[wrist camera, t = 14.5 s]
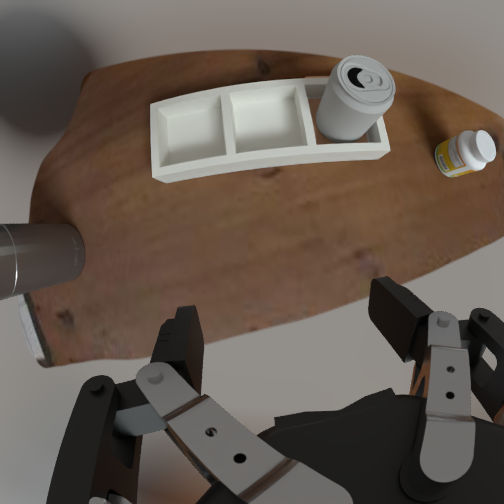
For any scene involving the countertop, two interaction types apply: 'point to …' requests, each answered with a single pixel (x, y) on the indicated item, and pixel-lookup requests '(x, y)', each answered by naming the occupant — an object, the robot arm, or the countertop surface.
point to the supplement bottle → (465, 153)
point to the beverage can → (354, 98)
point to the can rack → (249, 130)
